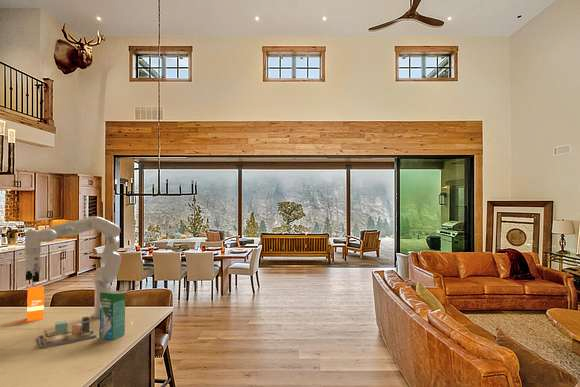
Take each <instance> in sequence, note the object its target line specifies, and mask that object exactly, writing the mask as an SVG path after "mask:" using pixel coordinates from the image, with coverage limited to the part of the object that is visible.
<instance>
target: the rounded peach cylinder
mask: <svg viewBox="0 0 580 387" xmlns="http://www.w3.org/2000/svg"><path fill="white" fill-rule="evenodd" d="M81 326H82V323H80V322H78V323H73V324H71V328H72V335H79V334H81Z"/></svg>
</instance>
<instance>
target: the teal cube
mask: <svg viewBox="0 0 580 387" xmlns="http://www.w3.org/2000/svg"><path fill="white" fill-rule="evenodd" d="M54 324H55V326H54V331H55V332H56V334H60V333H65V332H67V329H68V322H67V321H66V320H63V321H56V322H55V323H54Z"/></svg>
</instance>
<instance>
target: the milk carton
mask: <svg viewBox="0 0 580 387" xmlns="http://www.w3.org/2000/svg"><path fill="white" fill-rule="evenodd" d="M125 319H126V293H120V291H119V290H111V293H106V292H100V318H99V332H98V334H99V335H98V336H99V339H103V340H110V341H113V340H116V339H118V338H121V337H122V336H125V333H126V332H125V326H126V324H125V322H126V321H125Z"/></svg>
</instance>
